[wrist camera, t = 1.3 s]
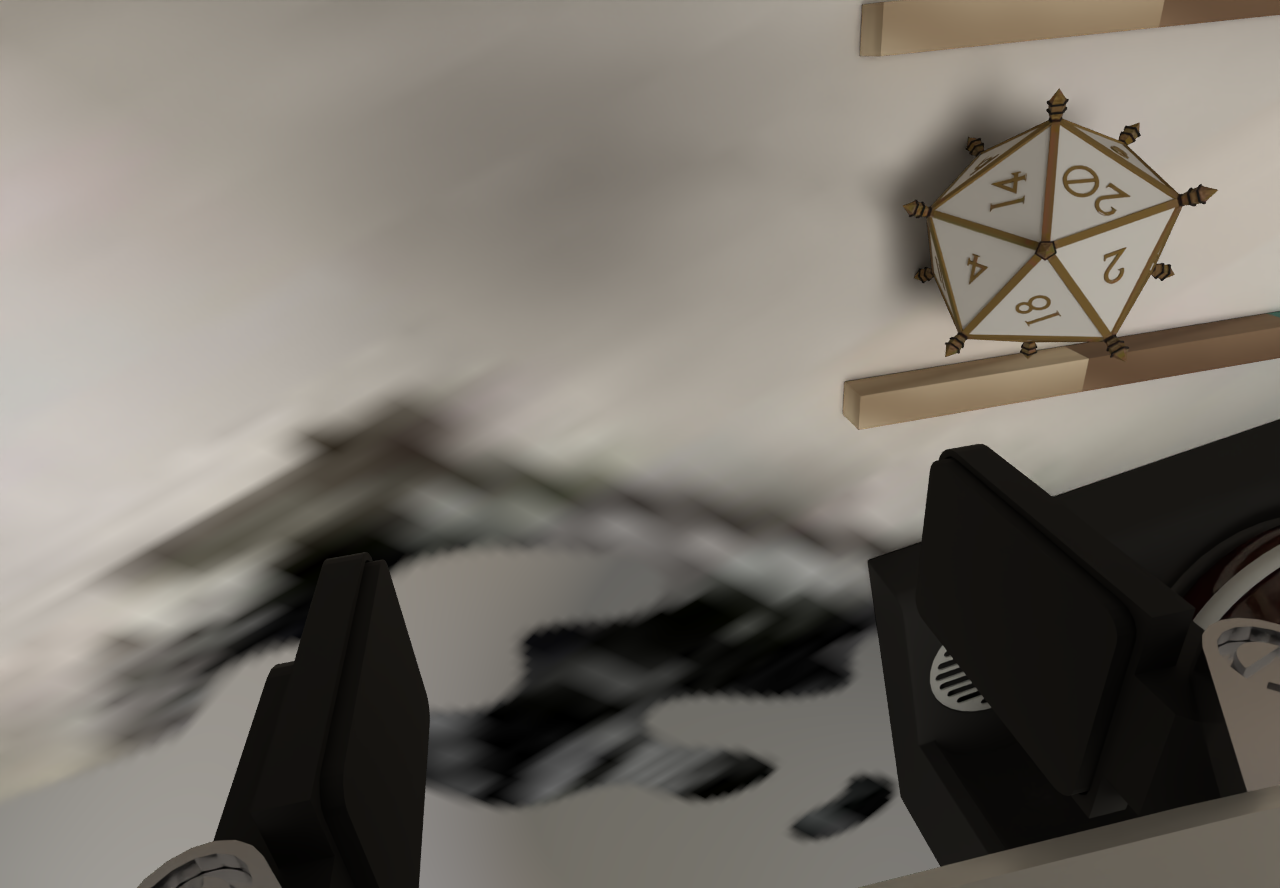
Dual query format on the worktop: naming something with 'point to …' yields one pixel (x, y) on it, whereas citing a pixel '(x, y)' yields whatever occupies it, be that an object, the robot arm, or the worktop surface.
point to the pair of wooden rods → (1033, 10)
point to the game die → (1050, 236)
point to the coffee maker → (1149, 534)
